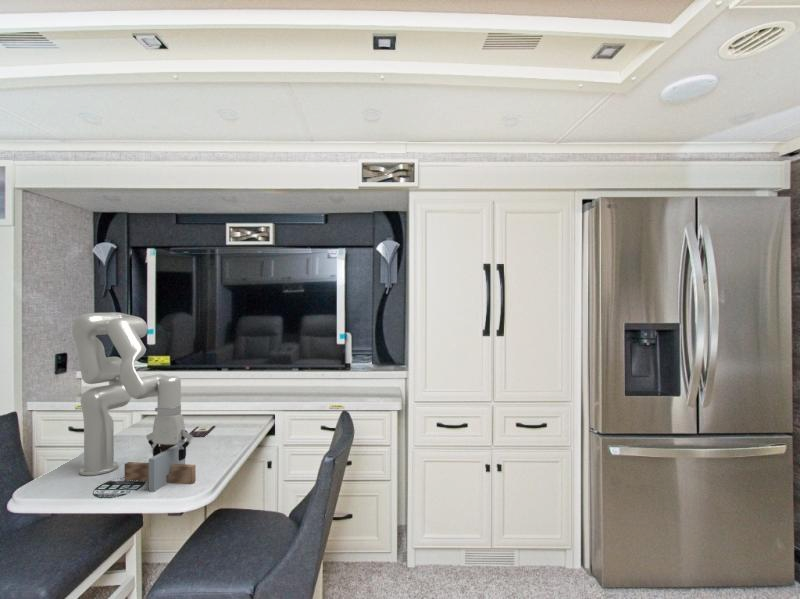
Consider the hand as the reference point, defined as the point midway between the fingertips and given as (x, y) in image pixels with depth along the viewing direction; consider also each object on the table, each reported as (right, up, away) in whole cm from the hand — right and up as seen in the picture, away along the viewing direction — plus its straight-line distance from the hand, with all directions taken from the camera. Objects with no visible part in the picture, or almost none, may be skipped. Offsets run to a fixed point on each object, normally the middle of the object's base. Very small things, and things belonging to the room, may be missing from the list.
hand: (169, 458), depth 167 cm
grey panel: (0, -8, -1) cm, 8 cm away
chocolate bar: (-15, -9, +62) cm, 64 cm away
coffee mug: (-16, -8, +34) cm, 38 cm away
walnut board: (-3, -8, -1) cm, 8 cm away
